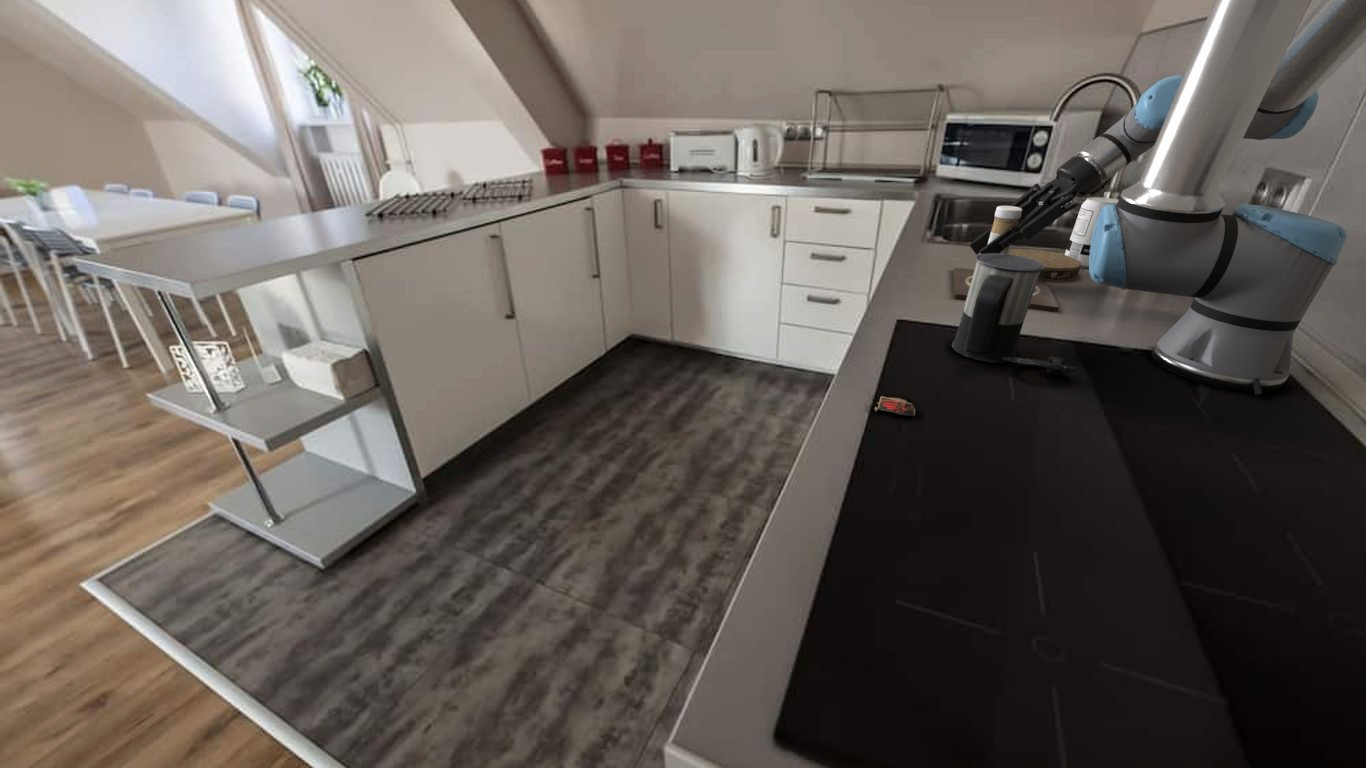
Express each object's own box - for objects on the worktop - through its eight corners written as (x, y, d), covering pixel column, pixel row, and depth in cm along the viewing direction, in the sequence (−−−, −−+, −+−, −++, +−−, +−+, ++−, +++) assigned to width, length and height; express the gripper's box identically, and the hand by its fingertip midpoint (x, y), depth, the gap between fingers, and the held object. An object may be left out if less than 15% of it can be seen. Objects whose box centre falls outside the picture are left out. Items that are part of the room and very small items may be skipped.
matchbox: (917, 418, 71) (918, 414, 70) (876, 414, 71) (876, 411, 71) (910, 400, 75) (910, 396, 74) (870, 396, 75) (871, 393, 75)
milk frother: (950, 336, 94) (973, 249, 87) (1056, 351, 89) (1089, 260, 82) (953, 371, 83) (980, 274, 76) (1075, 391, 78) (1116, 289, 71)
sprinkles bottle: (1008, 274, 116) (1028, 208, 109) (993, 277, 114) (1012, 210, 108) (989, 268, 119) (1007, 204, 113) (974, 271, 118) (991, 206, 111)
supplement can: (1069, 257, 139) (1091, 195, 132) (1107, 265, 134) (1132, 200, 127) (1056, 263, 135) (1078, 199, 128) (1095, 271, 129) (1120, 204, 122)
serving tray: (1057, 312, 105) (1059, 306, 105) (954, 298, 111) (956, 293, 111) (1042, 282, 122) (1044, 277, 121) (953, 271, 128) (954, 266, 127)
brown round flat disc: (986, 260, 136) (990, 248, 135) (1052, 262, 136) (1056, 249, 134) (1018, 280, 122) (1022, 267, 121) (1092, 282, 122) (1097, 269, 120)
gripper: (1127, 192, 100) (1007, 278, 108) (1071, 177, 115) (970, 254, 124) (1108, 160, 98) (986, 251, 106) (1054, 149, 113) (951, 229, 121)
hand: (978, 252), depth 115 cm, fingers closed on sprinkles bottle, 4 cm apart
